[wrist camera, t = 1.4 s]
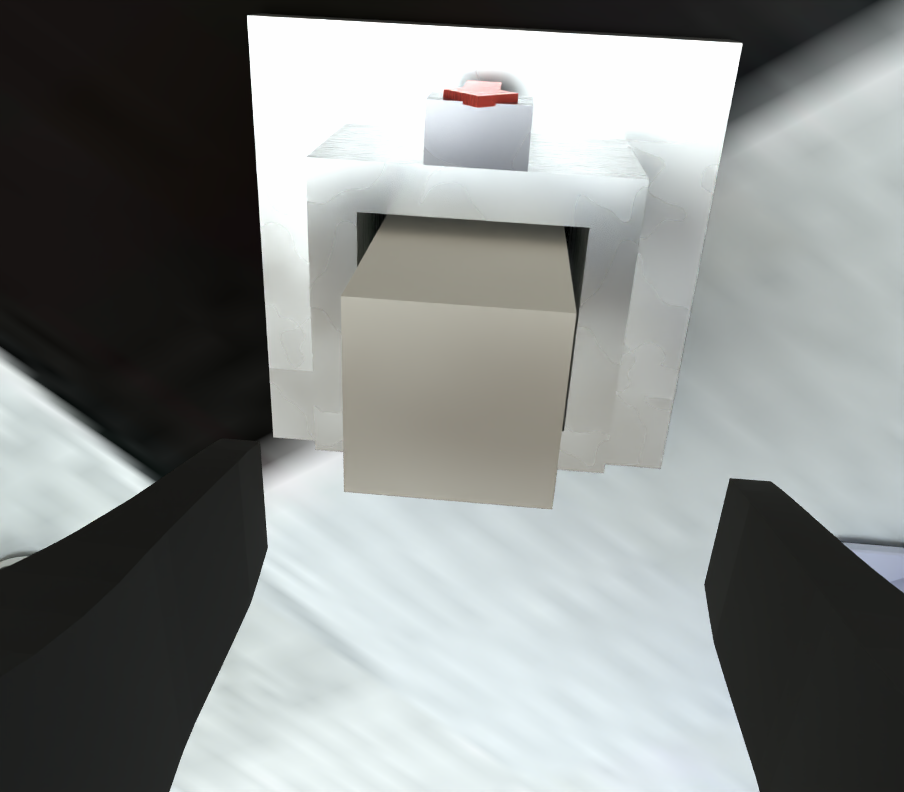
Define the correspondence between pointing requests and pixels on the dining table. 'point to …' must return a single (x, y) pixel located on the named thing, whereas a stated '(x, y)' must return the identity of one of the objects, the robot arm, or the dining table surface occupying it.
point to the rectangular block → (457, 361)
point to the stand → (491, 193)
